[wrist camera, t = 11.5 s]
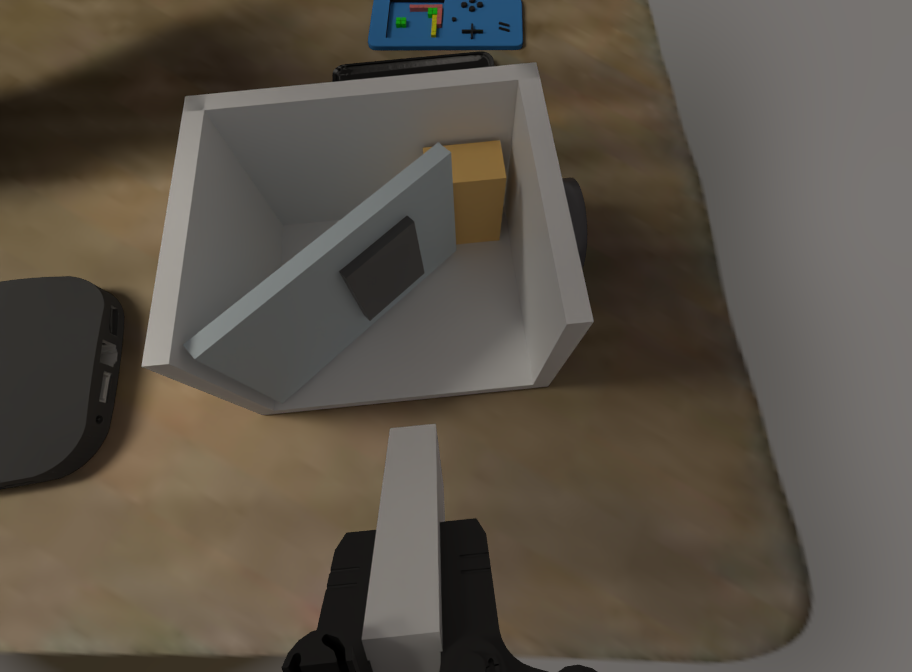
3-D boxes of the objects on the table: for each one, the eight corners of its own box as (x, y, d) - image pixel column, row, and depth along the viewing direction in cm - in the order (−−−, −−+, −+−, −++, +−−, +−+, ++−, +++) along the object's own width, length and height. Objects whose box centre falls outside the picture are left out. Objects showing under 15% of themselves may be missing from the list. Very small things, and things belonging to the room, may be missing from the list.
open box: (570, 384, 31) (629, 317, 19) (262, 415, 30) (141, 366, 19) (534, 195, 36) (564, 59, 25) (273, 221, 36) (185, 96, 25)
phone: (332, 65, 41) (491, 49, 41) (336, 76, 42) (491, 61, 42) (332, 130, 38) (502, 113, 38) (335, 140, 39) (501, 123, 39)
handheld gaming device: (523, 42, 41) (366, 42, 42) (522, 53, 42) (368, 53, 43) (521, -16, 44) (374, -15, 45) (520, -4, 45) (376, -3, 46)
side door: (462, 255, 33) (458, 158, 23) (287, 409, 29) (201, 368, 20) (447, 242, 33) (438, 142, 24) (273, 393, 30) (182, 344, 20)
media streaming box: (-52, 309, 35) (-98, 292, 32) (134, 283, 35) (105, 264, 32) (-109, 506, 30) (-170, 506, 27) (110, 474, 30) (72, 471, 27)
